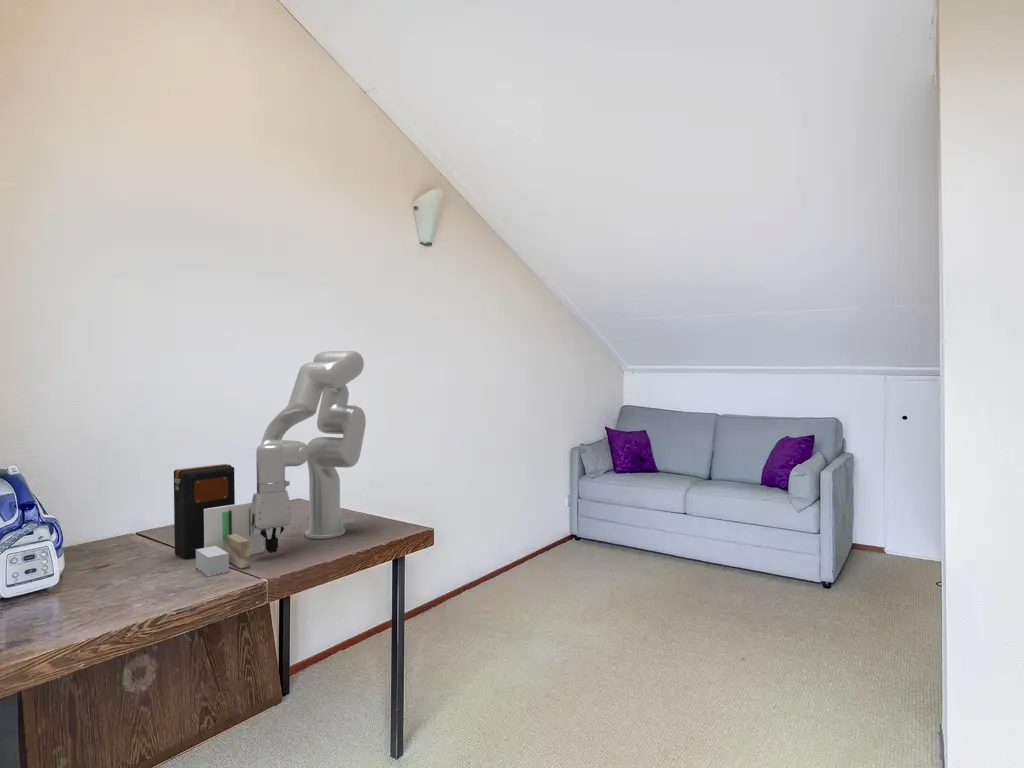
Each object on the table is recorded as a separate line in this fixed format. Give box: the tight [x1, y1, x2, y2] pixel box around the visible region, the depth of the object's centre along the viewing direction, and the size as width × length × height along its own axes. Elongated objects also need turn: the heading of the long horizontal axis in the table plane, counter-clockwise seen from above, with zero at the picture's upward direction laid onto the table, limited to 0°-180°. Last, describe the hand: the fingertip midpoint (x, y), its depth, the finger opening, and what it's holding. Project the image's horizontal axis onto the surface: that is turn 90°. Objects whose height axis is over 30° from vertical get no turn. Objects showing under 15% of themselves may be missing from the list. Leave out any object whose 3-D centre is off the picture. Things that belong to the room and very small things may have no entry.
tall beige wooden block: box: [226, 510, 250, 569], centre depth 165 cm, size 2×11×14 cm, turn 44°
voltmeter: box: [173, 463, 236, 559], centre depth 177 cm, size 16×9×25 cm, turn 141°
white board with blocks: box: [195, 501, 265, 577], centre depth 166 cm, size 19×13×15 cm
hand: (271, 551), depth 172 cm, fingers closed
